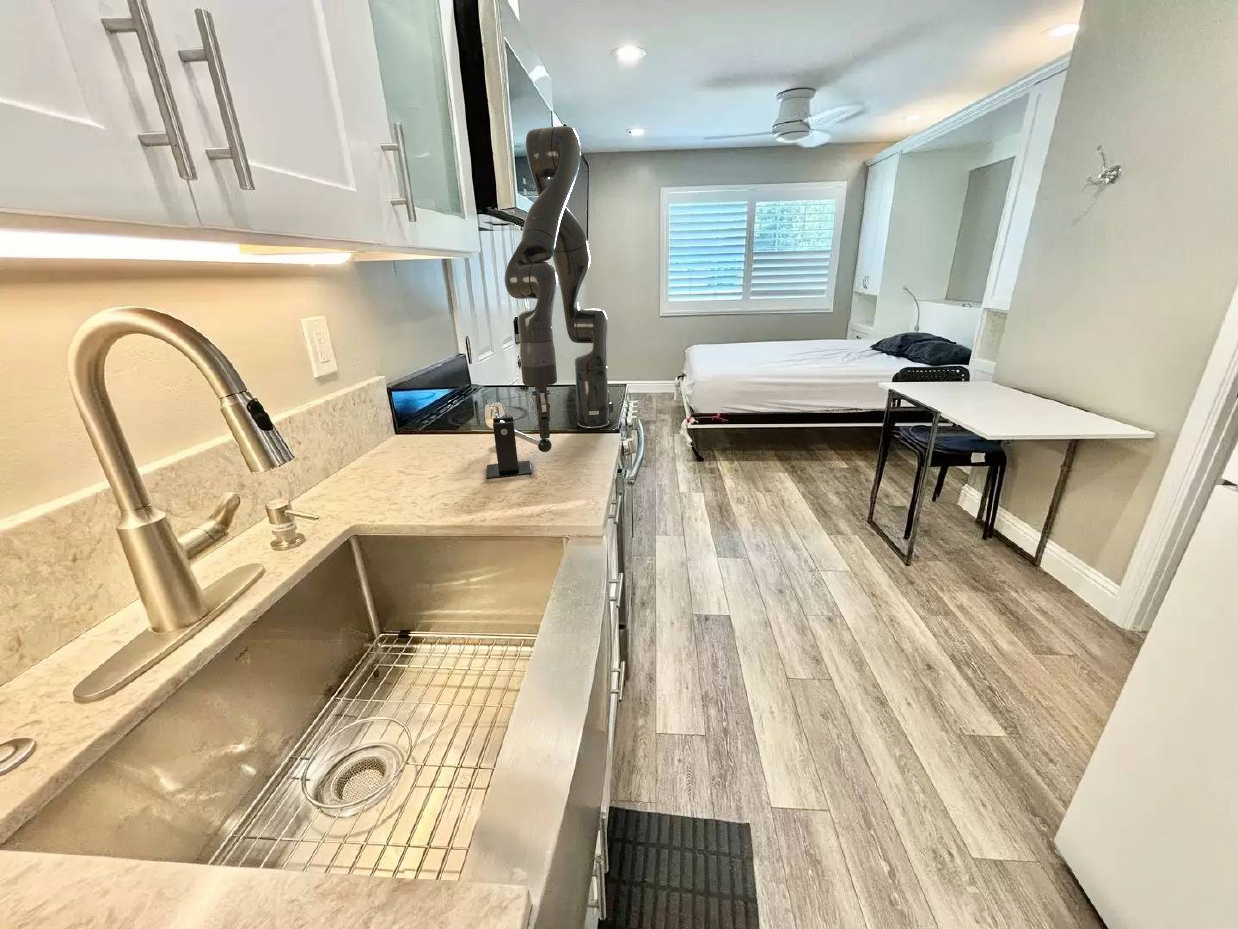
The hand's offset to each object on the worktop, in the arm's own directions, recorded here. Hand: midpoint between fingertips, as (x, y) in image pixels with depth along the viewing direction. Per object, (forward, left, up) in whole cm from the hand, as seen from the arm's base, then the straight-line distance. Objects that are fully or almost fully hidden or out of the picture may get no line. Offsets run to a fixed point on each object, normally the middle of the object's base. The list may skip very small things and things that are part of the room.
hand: (544, 437), depth 112 cm
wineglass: (-5, -20, -8) cm, 22 cm away
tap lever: (+4, -4, -1) cm, 5 cm away
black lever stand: (+6, -6, -8) cm, 12 cm away
